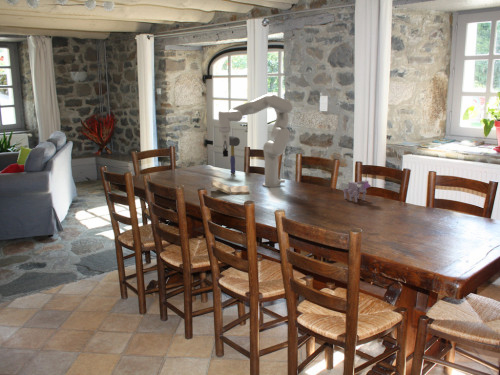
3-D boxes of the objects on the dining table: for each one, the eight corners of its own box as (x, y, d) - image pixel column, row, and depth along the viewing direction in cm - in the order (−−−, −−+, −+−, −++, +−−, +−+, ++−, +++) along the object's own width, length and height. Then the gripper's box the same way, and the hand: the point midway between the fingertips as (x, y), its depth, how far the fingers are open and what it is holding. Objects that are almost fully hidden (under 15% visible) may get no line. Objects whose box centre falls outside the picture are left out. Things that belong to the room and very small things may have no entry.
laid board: (246, 187, 344) (246, 185, 344) (249, 193, 327) (249, 191, 326) (228, 188, 343) (228, 186, 343) (230, 194, 325) (230, 192, 325)
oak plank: (227, 188, 343) (228, 186, 343) (229, 194, 325) (230, 192, 325) (211, 181, 341) (211, 179, 340) (211, 187, 323) (212, 184, 323)
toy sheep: (377, 202, 299) (377, 180, 295) (364, 206, 293) (364, 183, 290) (353, 196, 315) (353, 175, 312) (341, 199, 310) (340, 178, 307)
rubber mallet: (241, 174, 392) (240, 136, 386) (233, 175, 388) (232, 137, 381) (232, 172, 402) (231, 135, 396) (224, 173, 398) (223, 136, 391)
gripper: (230, 131, 319) (231, 157, 323) (229, 128, 336) (230, 153, 340) (219, 131, 319) (220, 157, 322) (218, 128, 336) (219, 153, 339)
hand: (225, 155), depth 331 cm, fingers open, 9 cm apart
